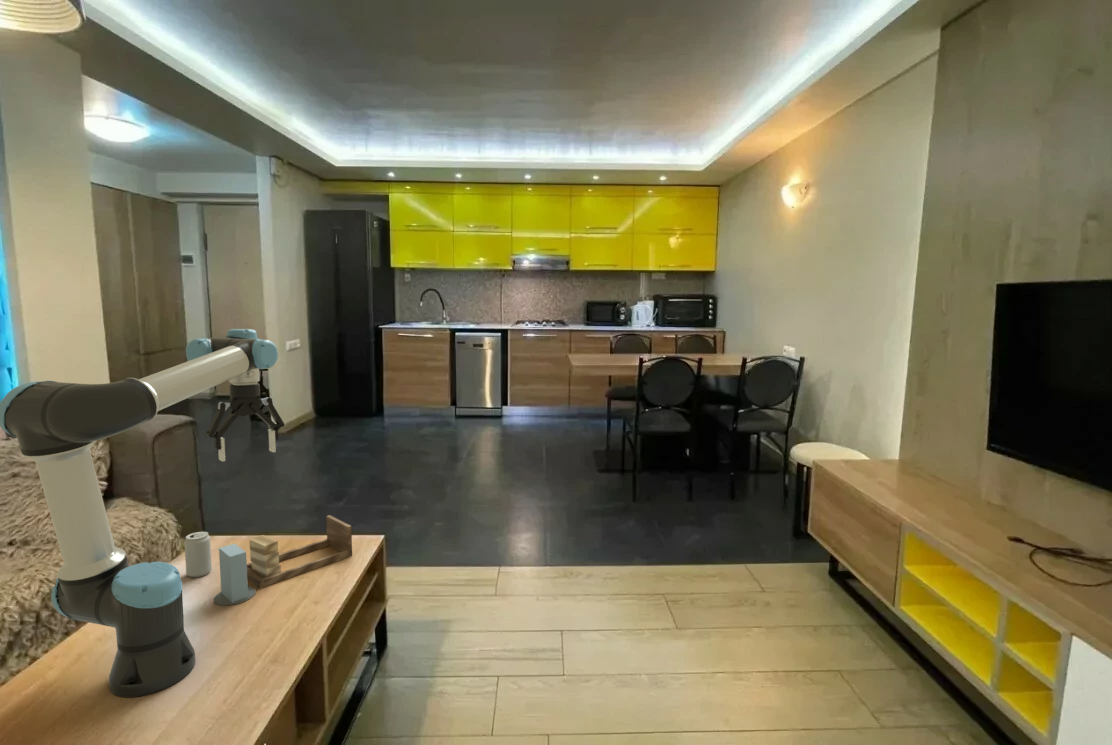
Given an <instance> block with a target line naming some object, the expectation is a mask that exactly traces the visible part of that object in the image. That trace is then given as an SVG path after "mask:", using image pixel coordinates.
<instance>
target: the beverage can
mask: <svg viewBox="0 0 1112 745" xmlns="http://www.w3.org/2000/svg"><path fill="white" fill-rule="evenodd" d="M211 552H212V550H211V536H210V535H209V532H208V531H197V532H192V533H190V534H188V535H186V536H185V540H184V558H185V574H186V575H187V576H188V577H190V578H200V577H204V576H206V575H208V574H209V573H210V572H211V571H212V553H211Z"/></svg>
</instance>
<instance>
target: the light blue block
mask: <svg viewBox="0 0 1112 745" xmlns="http://www.w3.org/2000/svg"><path fill="white" fill-rule="evenodd" d="M218 556H219V558H218V559H219V573H220V574H219V576H220V592H221V593H222V594H223V595H224V596H225V597H226V598H228V599H229V600H230V601H231V602H232V603H234V602H236V601H239V600H242V599H245V598H247V597H248V586H249V584H248V583H249V582H248V578H247V564H248V563H247V561H248V560H247V551H245V550H244V549H242V547H240V546H239V545H237V544H236V543H233V544H227V545H225V546H221V547H218Z"/></svg>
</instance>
